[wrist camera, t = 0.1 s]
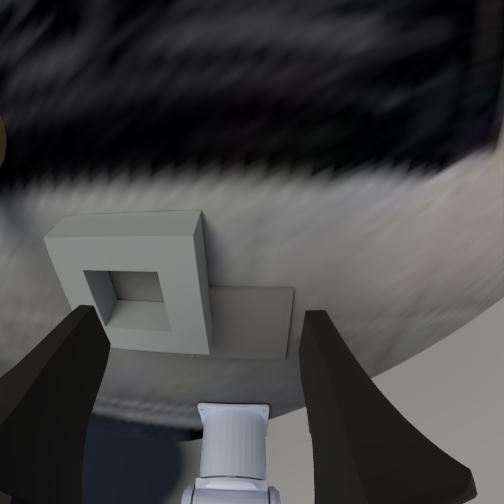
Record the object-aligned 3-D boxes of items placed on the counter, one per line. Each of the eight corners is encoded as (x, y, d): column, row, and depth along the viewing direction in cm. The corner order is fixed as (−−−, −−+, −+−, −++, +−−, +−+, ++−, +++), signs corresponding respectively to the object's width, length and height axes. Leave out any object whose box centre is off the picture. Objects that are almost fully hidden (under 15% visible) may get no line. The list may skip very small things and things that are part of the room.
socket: (213, 325, 24) (209, 354, 22) (101, 318, 24) (89, 344, 22) (201, 210, 19) (193, 235, 16) (64, 215, 19) (43, 238, 16)
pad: (284, 355, 26) (285, 358, 26) (195, 354, 26) (194, 357, 26) (293, 286, 22) (293, 290, 22) (181, 286, 22) (180, 290, 22)
